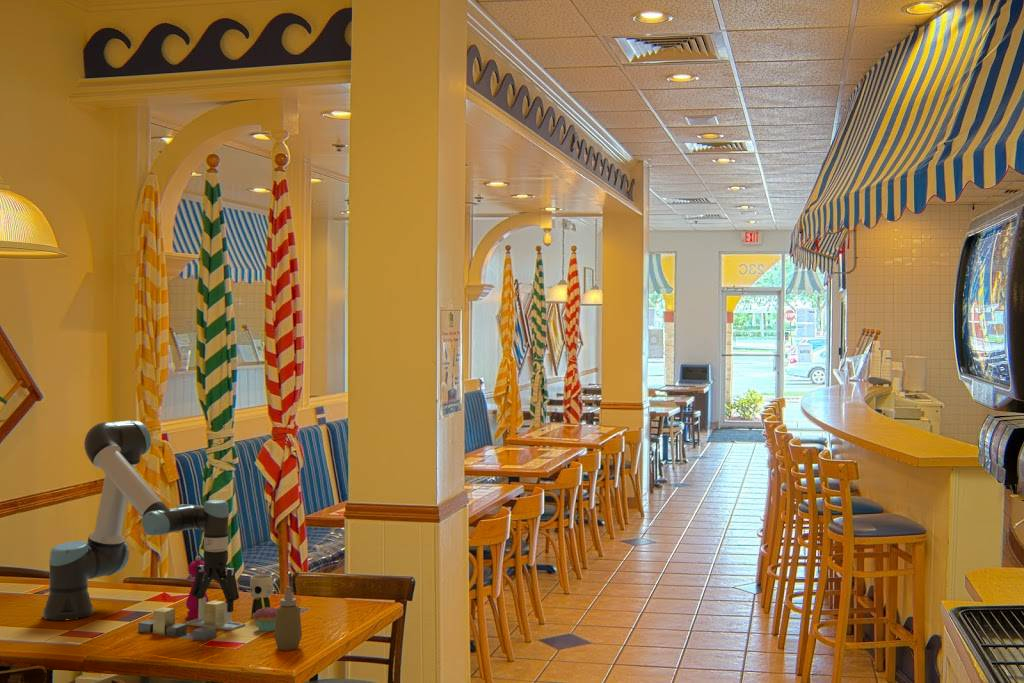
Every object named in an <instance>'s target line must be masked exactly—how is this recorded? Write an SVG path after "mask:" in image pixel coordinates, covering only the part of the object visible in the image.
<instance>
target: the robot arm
mask: <svg viewBox="0 0 1024 683" xmlns="http://www.w3.org/2000/svg"><path fill="white" fill-rule="evenodd" d="M151 444H152V437H151V433H150V431H149V428H148V427H147V426H146V425H145V424H144V423H142V422H141V421H139V420H138V421H137V420H120V421H107V422H105V421H103V422H99V423H97V424H95V425H93V426H92V427H91V428H90V429H89V430H88V431H87V433H86V434H85V438H84V451H85V454H86V456H87V458H88V459H89V461H90V462H91V464H93V466H94V467H96V468H97V469H101V470H102V471H103V472H104V473H105V474H104V480H103V484H102V485H103V486H102V489H101V496H100V499H99V500H100V501H99V507H98V512H97V516H96V521H95V527H94V530H93V531H91V533H89V534H88V537H87V538H88V539H87V541H84V540H73V541H66V542H63V543H60V544H57V545H55V546H53V547H52V549H51V550H50V554H49V561H48V563H49V589H48V590H49V591H48V593H49V594H48V596H47V600H46V603H45V607H44V608H43V611H42V617H44V618H46V619H45V620H47V619H53V620H52V621H55V620H64V621H67V620H66V619H75V620H77V619H76V618H81V617H85V618H87V617H86V616H88V617H90V616H89V615H91V614H92V613H93V614H94V605H93V604H92V600H91V597H90V594H89V590H88V589H89V585H88V584H89V581H88V580H92V579H95V578H100V577H101V578H103V577H108V576H113V575H114V574H117V573H120V572H121V571H123V569H124V568H125V567H126V566H127V564H128V561H129V559H130V549H128V548H129V546H128V544H127V542H126V541H125V537H124V535H123V534H122V531H123V525H124V520H125V515H126V511H127V504H128V502H129V504H131V506H132V507H133V508H134V509H135V510H136V512H137V513H139V515H140V516H141V517H142V519H141V526H142V528H143V529H142V530H143V532H144V533H145V534H147V535H149V536H153V537H154V536H163V535H166V534H170V533H171V534H172V533H177V532H182V531H187V530H193V529H194V530H203V554H202V555H203V558H202V559H203V560H202V561H204V563H205V564H204V565H199V566H196V577H195V581H194V585H193V590H192V596H195V597H196V598H197V608H199V609H198V620H201V619H204V603H206V597H205V593H206V594H207V590H208V589H209V586H210V584H211V582H212V580H215V581H217V583H218V584H219V585H220V588H221V590H222V593H223V595H224V598H225V600H226V601H223V602H224V623H228V622H233V620H232V619H233V618H232V617H233V616H232V615H233V612H234V602H235V601H237V600H239V599H240V594H239V589H238V584H237V579H236V568H235V567H233V568H229V567H228V564H227V563H228V561H229V550H228V548H229V518H230V517H229V516H230V513H229V511H230V510H229V503H228V502H227V501H226V500H223V499H220V500H219V499H212V500H206V501H205V502H204V503H203V505H198V504H197V505H196V504H191V503H188V504H184V503H183V504H179V505H177V506H176V507H172V508H169V507H167V505H166V504H165V502H163V501H162V500H161V498H160V497H159V496H158V495H157V493H156V492H155V491H154V490H153V489H152V487H150V485H149V484H148V483H147V482H146V480H145V479H144V478H143V477H142V476H141V475H140V473H138V471H136V469H135V467H136V466H138V465H139V464H140V463H141V462H140V461H141V458H142V456H143V455H144V454H146V453H147V452H148V451H149V450H150V448H151ZM204 571H205V572H206V573H205V576H204ZM203 576H204V578H203ZM203 579H204V580H203ZM202 581H203V582H202ZM203 597H204V598H203ZM93 614H92V615H93ZM92 615H91V616H92ZM44 618H43V619H44ZM81 619H82V618H81Z"/></svg>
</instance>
